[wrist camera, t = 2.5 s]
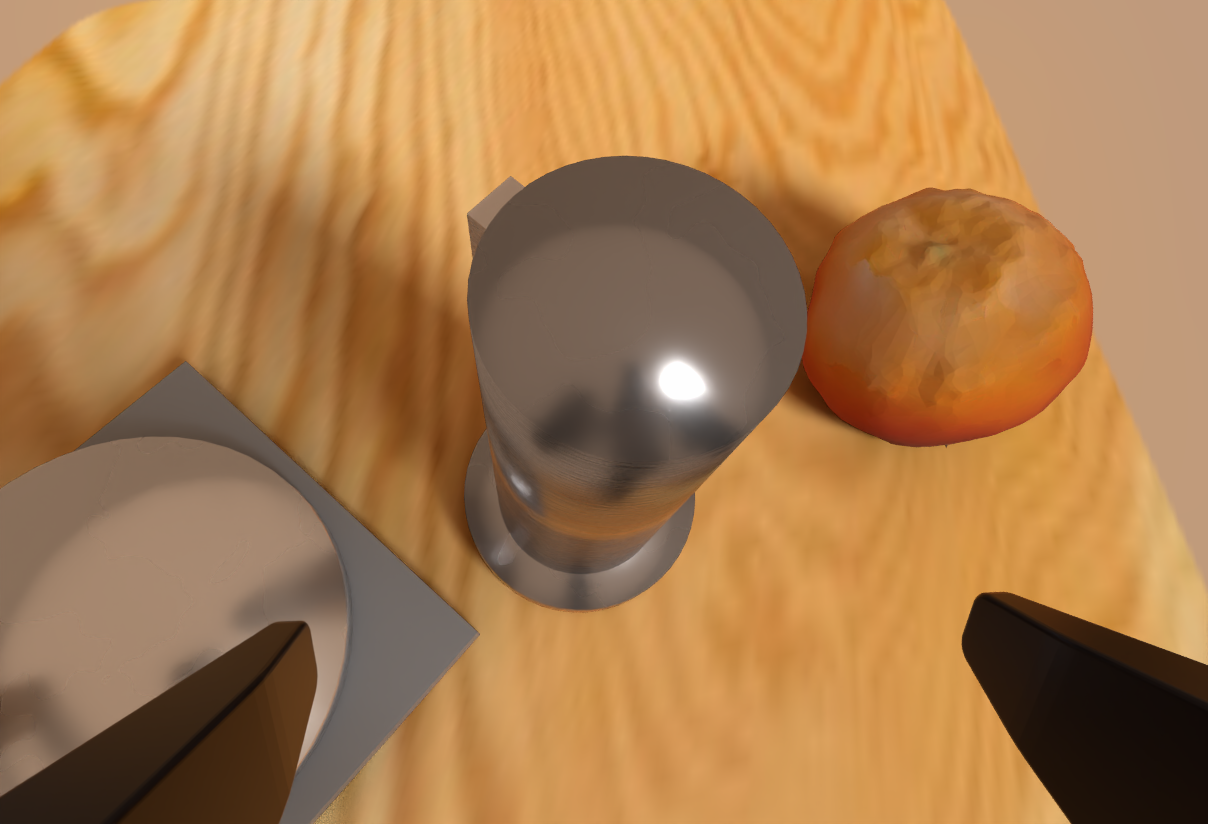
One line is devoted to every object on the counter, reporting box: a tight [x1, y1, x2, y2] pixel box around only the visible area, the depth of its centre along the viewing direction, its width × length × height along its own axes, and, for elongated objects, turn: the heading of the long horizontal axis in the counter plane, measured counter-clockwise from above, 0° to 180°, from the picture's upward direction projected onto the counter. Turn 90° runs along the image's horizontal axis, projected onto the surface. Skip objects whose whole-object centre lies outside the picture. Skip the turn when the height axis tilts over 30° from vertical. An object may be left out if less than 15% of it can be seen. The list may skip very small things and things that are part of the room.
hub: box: [464, 156, 807, 612], centre depth 17 cm, size 7×7×13 cm
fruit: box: [802, 188, 1093, 448], centre depth 23 cm, size 8×8×8 cm
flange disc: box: [0, 437, 353, 796], centre depth 18 cm, size 11×11×1 cm
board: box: [73, 361, 480, 824], centre depth 19 cm, size 16×12×1 cm
